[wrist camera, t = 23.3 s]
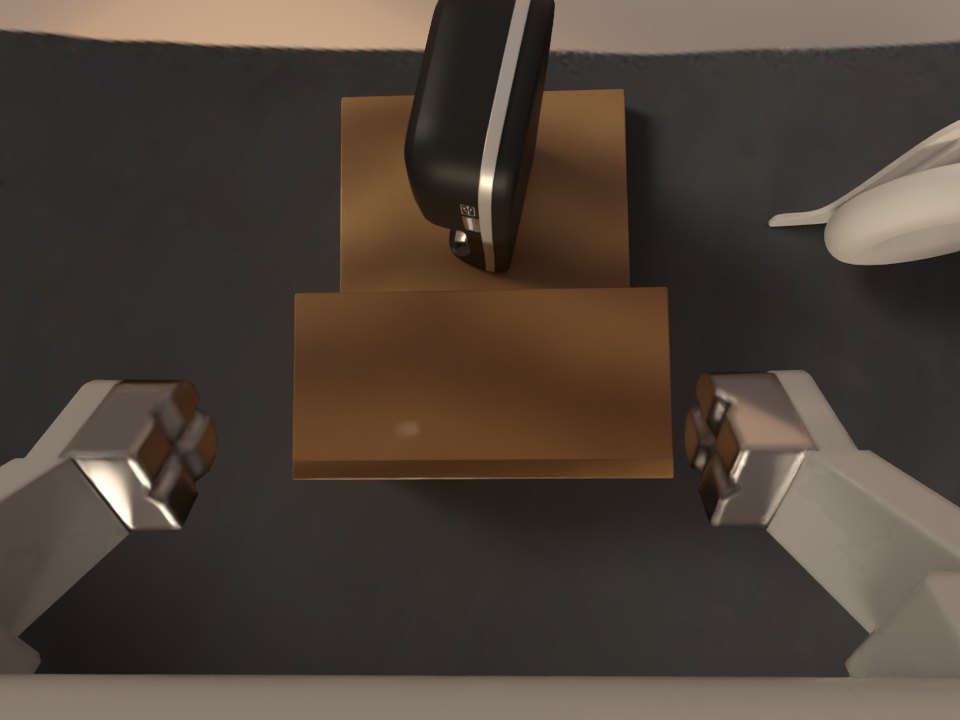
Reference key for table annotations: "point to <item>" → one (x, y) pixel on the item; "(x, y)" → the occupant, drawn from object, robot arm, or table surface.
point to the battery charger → (478, 122)
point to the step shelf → (548, 218)
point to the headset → (897, 208)
